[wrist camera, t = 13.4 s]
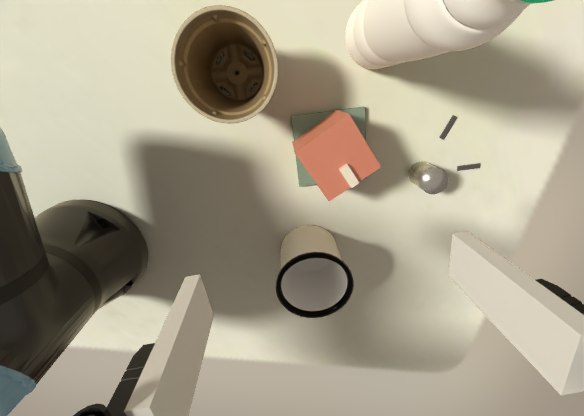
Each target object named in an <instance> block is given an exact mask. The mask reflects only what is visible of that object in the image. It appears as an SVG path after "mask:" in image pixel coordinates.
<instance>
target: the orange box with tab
mask: <svg viewBox="0 0 584 416" xmlns="http://www.w3.org/2000/svg"><path fill="white" fill-rule="evenodd" d="M292 143H293V147H294V152H295V154H296V156H297V157H298V158H299V160H300V161H301V163H302V164H303V165H304V167H305V168H306V170H307V171H308V172H309V174H310V175H311V177H312V178H313V180H314V181H315V182H316V184H317V185H318V187H319V188H320V189H321V191H322V192H323V194H324V195H325V196H326V198H327V199H328V201H330V200H332V199H333V198H335V197H336V196H338V195H340V194H341V193H343V192H344V191H346V190H347V189H349V188H350V187H351V188H353V187H354V186H356V185H357V184H359V181H361V180H362V179H364V178H366V177H367V176H369V175H370V174H372V173H373V172H375V171H376V170H378V169H379V168H381V166H380V164H379V163H378V161H377V159H376V158H375V156H374V154H373V153H372V151H371V149H370V148H369V146H368V144H367V143H366V141H365V139H364V138H363V136H362V134H361V133H360V131H359V129H358V128H357V126H356V124H355V123H354V121H353V119H352V118H351V116H350V114H347V113H345V112H342V111H339V110H336V111H334V112H333V113H331V114H330V115H329V116H327V117H326V118H325V119H323V120H322V121H320V122H319V123H318V124H316V125H315V126H314V127H312V128H311V129H309V130H308V131H307V132H305V133H304V134H302V135H301V136H300V137H298V138H297V139H296V140H294V141H293V142H292Z"/></svg>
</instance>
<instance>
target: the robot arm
mask: <svg viewBox="0 0 584 416" xmlns="http://www.w3.org/2000/svg"><path fill="white" fill-rule="evenodd" d="M20 172H22V169H21V167H20V166H19V165H17V163H16V161H15V159H14V156H13V154H12V152H11V149H10V147H9V144H8V142H7V139H6V136H5V134H4V132H3V131H2V129H1V128H0V416H7V415H8V414H9V413H10V412H11V411H12V410H13V409H14V407H15V406H16V405H17V404H18V403H19V402H20V401H21V400H22V399H23V398H24V397H25V395H27V394H29V393H30V392H32V391H33V390H34V388H35V387H36V384H37V383H38V382H39V381H40V379H41V378H42V377H43V376H44V375H45V373H46V372H47V371H48V370H49V368H50V367H51V366H52V365H53V363H54V362H55V361H56V360H57V359H58V357H59V356H60V355H61V353H62V352H63V351H64V350H65V349H66V347H67V346H68V345H69V344H70V342H71V341H72V340H73V339H74V338H75V336H76V335H77V334H78V333H79V331H80V330H81V329H82V328H83V326H84V325H85V324H86V323H87V322H88V320H89V319H90V318H91V317H92V315H93V314H94V313H95V312H96V311H97V310H98V309H99V308H101V307H103V306H104V305H106V304H108V303H109V302H111V301H113V300H114V299H116V298H118V297H119V296H121V295H123V294H124V293H126V292H127V291H129V290H130V289H131V288H132V287H133V286H134V285H135V284H136V282H137V281H138V280H139V278H140V277H141V276H142V274H143V273H144V271H145V269H146V266H147V261H148V251H147V246H146V243H145V240H144V238H143V236H142V234H141V233H140V231H139V230H138V228H137V227H136V226H135V225H134V224H133V222H131V221H130V220H129V219H128V218H127V217H126V216H125V215H123V214H122V213H120V212H119V211H117V210H115V209H114V208H112V207H110V206H107V205H105V204H102V203H99V202H95V201H89V200H70V201H65V202H62V203H59V204H57V205H55V206H53V207H51V208H49V209H47V210H45V211H44V212H42V213H40V214H39V215H38V216H37V217H35V218H34V215H33V212H32V209H31V206H30V202H29V199H28V196H27V193H26V190H25V186H24V183H23V180H22V177H21V173H20ZM449 278H450V279H451V280H452V281H453V282H454V283H455V284H456V285H457V286H458V287H459V289H460V290H461V291H462V292H463V293H464V294H465V295H466V296H467V297H468V298H469V299H470V300H471V301H472V302H473V303H474V304H475V305H476V306H477V307H478V309H479V310H480V311H481V312H482V313H483V314H484V315H485V316H486V317H487V318H488V319H489V320H490V321H491V322H492V323H493V324H494V325H495V326H496V327H497V328H498V330H499V331H501V333H502V334H503V335H504V336H505V337H506V338H507V339H508V340H509V341H510V342H511V343H512V344H513V345H514V346H515V347H516V349H518V351H519V352H520V353H521V354H522V355H523V356H524V357H525V358H526V359H527V360H528V361H529V362H530V363H531V364H532V365H533V366H534V367H535V369H537V370H538V372H539V373H540V374H541V375H542V376H543V377H544V378H545V379H546V380H547V381H548V382H549V383H550V384H551V385H552V386H553V387H554V389H555V390H556V391H557V392H558V393H559V394H560V395H567V394H572V393H578V392H583V391H584V305H583V304H582V302H581V301H579V300H577V299H576V298H575V297H571V295H570V294H569V293H567V292H566V291H564V290H563V289H562V288H560V287H558V286H557V285H554V284H552V283H550V282H548V281H545V280H543V279H538V280H534V279H533V278H531V277H530V276H528V275H527V274H526V273H524V272H523V271H522V270H520V269H519V268H518V267H516V266H515V265H513V264H512V263H511V262H509V261H508V260H506V259H505V258H504V257H502V256H501V255H500V254H498V253H497V252H495V251H494V250H493V249H491V248H490V247H488V246H487V245H486V244H484V243H483V242H481V241H480V240H479V239H477V238H476V237H475V236H473V235H472V234H470V233H469V232H468V231H464V232H458V233H452V243H451V255H450V266H449ZM213 316H214V315H213V312H212V309H211V306H210V303H209V300H208V297H207V294H206V291H205V287H204V284H203V281H202V278H201V275H200V274H199V275H193V276H187V277H185V279H184V281H183V283H182V285H181V288H180V290H179V292H178V294H177V296H176V299H175V301H174V303H173V305H172V307H171V309H170V312H169V314H168V316H167V318H166V320H165V323H164V325H163V327H162V329H161V331H160V334H159V336H158V338H157V340H156V342H155V343H153V344H147V345H143V346H142V347H141V348H140V349H139V351H138V352H137V353H136V354H135V355H134V356H133V358H132V360H131V361H130V364H129V365H128V367H127V371H126V372H125V373H124V375H123V377H122V379H121V382H120V383H119V385H118V387H117V389H116V390H115V393H114V394H113V397H112V398H111V400H110V402H109V404H108V406H107V408H106V407H105V406H104V405H102V404H94V405H91V406H87V407H86V408H84V409H82V410H80V411H79V412H77V413H76V414H75V415H74V416H188V415H189V411H190V408H191V404H192V399H193V396H194V392H195V388H196V384H197V380H198V376H199V372H200V368H201V364H202V360H203V356H204V352H205V348H206V344H207V340H208V336H209V332H210V328H211V324H212V320H213Z"/></svg>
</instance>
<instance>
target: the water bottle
mask: <svg viewBox="0 0 584 416" xmlns="http://www.w3.org/2000/svg"><path fill="white" fill-rule="evenodd" d="M548 1H553V0H363V1H362V2H361V3H360V4H359V5H358V6H357V7H356V8H355V10H354V11H353V13H352V14H351V16H350V18H349V21H348V23H347V27H346V34H345V40H346V46H347V49H348V52H349V54H350V56H351V57H352V59H353V60H354V61H355V62H356V63H357V64H358V65H360V66H362V67H364V68H367V69H381V68H385V67H388V66H393V65H398V64H401V63H403V62H409V61H416V60H421V59H425V58H430V57H434V56H437V55H441V54H444V53H447V52H450V51H463V50H468V49H471V48H474V47H477V46H480V45H482V44H484V43H486V42H488V41H490V40H491V39H493V38H494V37H496V36H497V35H499V34H500V33H501V32H503V31H504V30H505V29H506V28H507V27H508V26H509V25H510V24H511V23H512V22H513V21H514V20H515V19H516V18H517V17H518V16H519V15H520V14H521V12H522V11H523V10H524V9H525V8H526V7H527V6H528V5H529V4H533V3H541V2H548Z"/></svg>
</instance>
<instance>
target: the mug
mask: <svg viewBox="0 0 584 416" xmlns="http://www.w3.org/2000/svg"><path fill="white" fill-rule="evenodd" d="M353 286H354V284H353V277H352V273H351V271H350V269H349V267H348V266H347V265H346V264H345V262H344V261H343V260H342V259H341V256H340V253H339V251H338V248H337V245H336V242H335V240H334V238H333V236H332V235H331V234H330V233H329V232H328V231H327V230H325V229H323V228H321V227H318V226H314V225H306V226H301V227H298V228H296V229H294V230H292V231H291V232H289V233H288V234H287V235H286V237H285V238H284V240H283V241H282V244H281V251H280V272H279V274H278V276H277V279H276V292H277V296H278V299H279V301H280V302H281V304H282V305H283V306H284V307H285V308H286V309H287V310H288V311H290V312H292V313H293V314H295V315H298V316H300V317H306V318H318V317H324V316H327V315H330V314H332V313H334V312H336V311H338V310H339V309H341V308H342V307H343V306H344V305H345V304H346V303H347V301H348V300H349V299H350V297H351V294H352V292H353Z"/></svg>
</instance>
